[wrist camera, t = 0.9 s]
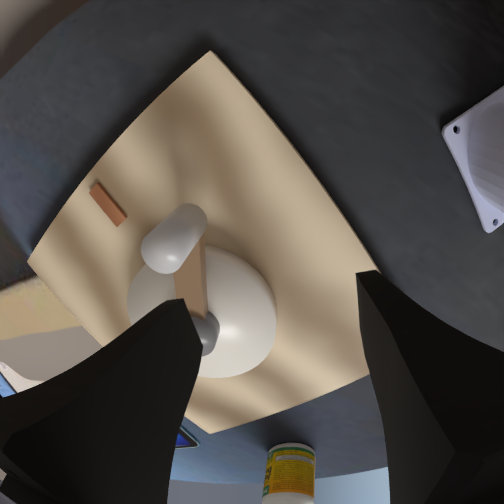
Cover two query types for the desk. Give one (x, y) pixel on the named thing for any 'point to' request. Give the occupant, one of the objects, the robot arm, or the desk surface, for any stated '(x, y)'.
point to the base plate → (218, 239)
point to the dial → (206, 293)
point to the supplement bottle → (289, 475)
